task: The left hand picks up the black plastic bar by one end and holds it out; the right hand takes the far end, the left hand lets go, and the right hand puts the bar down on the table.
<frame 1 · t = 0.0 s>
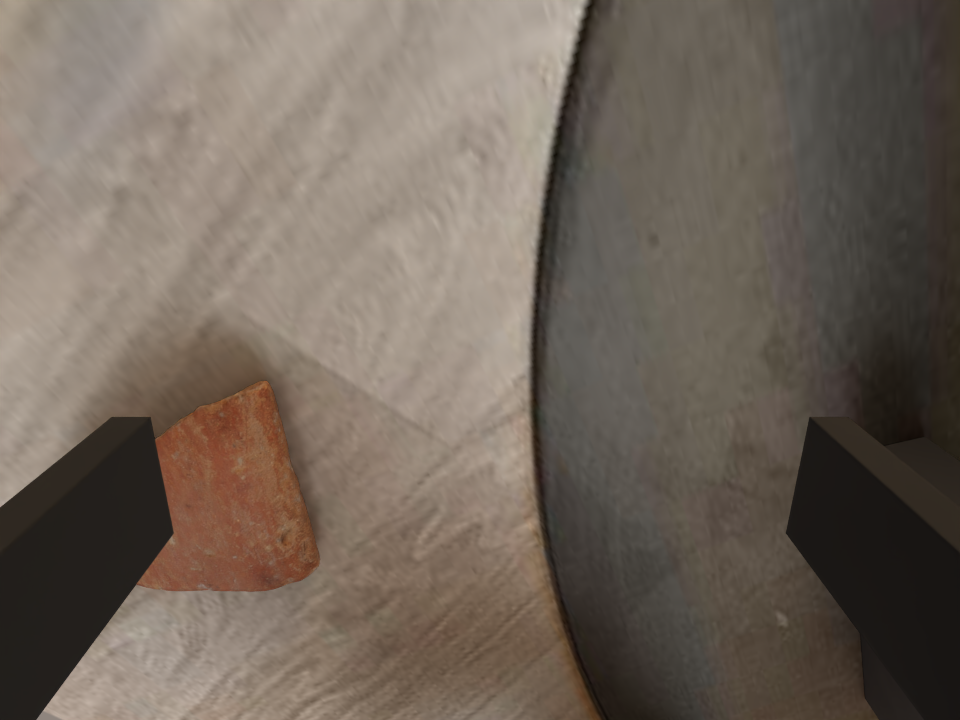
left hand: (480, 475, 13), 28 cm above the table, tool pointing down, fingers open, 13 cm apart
bar: (892, 579, 48), on the table
ceramic shard: (203, 479, 45), on the table
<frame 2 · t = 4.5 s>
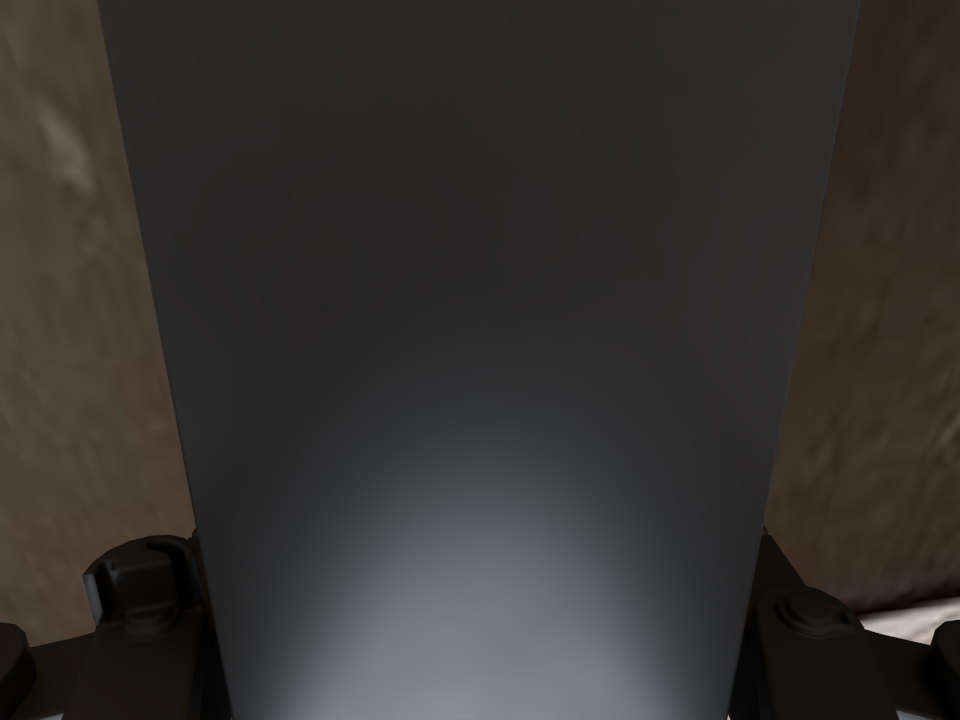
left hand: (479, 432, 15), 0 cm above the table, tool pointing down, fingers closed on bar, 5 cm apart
bar: (479, 52, 12), on the table, touching left hand
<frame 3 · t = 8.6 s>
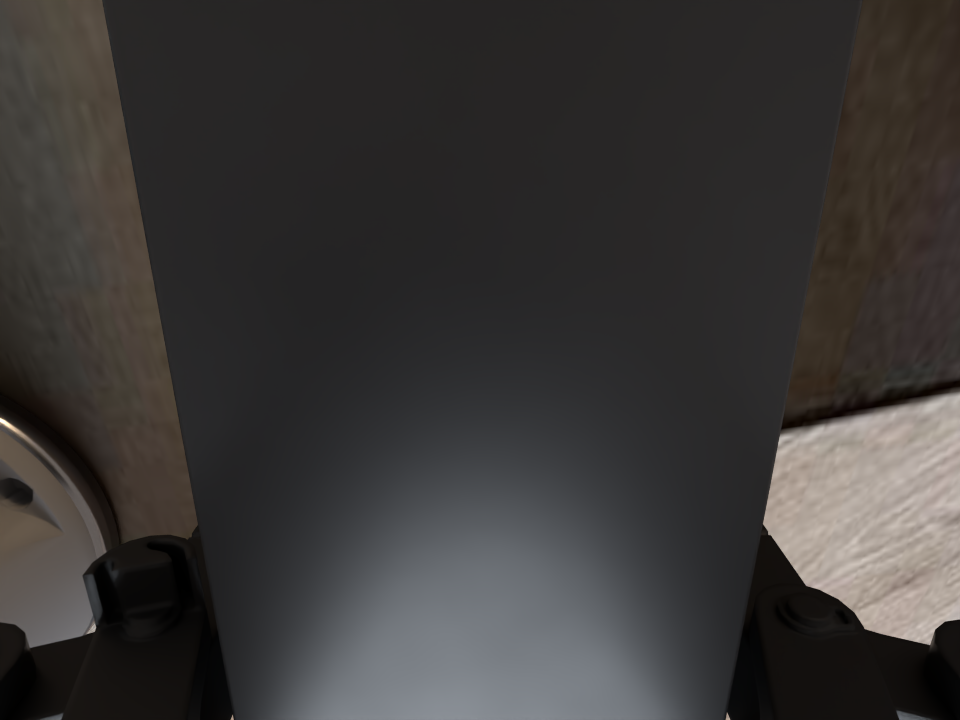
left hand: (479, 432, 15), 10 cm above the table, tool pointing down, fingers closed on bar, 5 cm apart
bar: (481, 53, 12), point 10 cm above the table, touching left hand, right hand
when the left hand's fingers open (10 cm above the table, at t = 9.4 s): bar stays where it is, held by the right hand.
when the right hand's fingers open (5 cm above the table, at t = 15.5 s): bar drops 1 cm, on the table.
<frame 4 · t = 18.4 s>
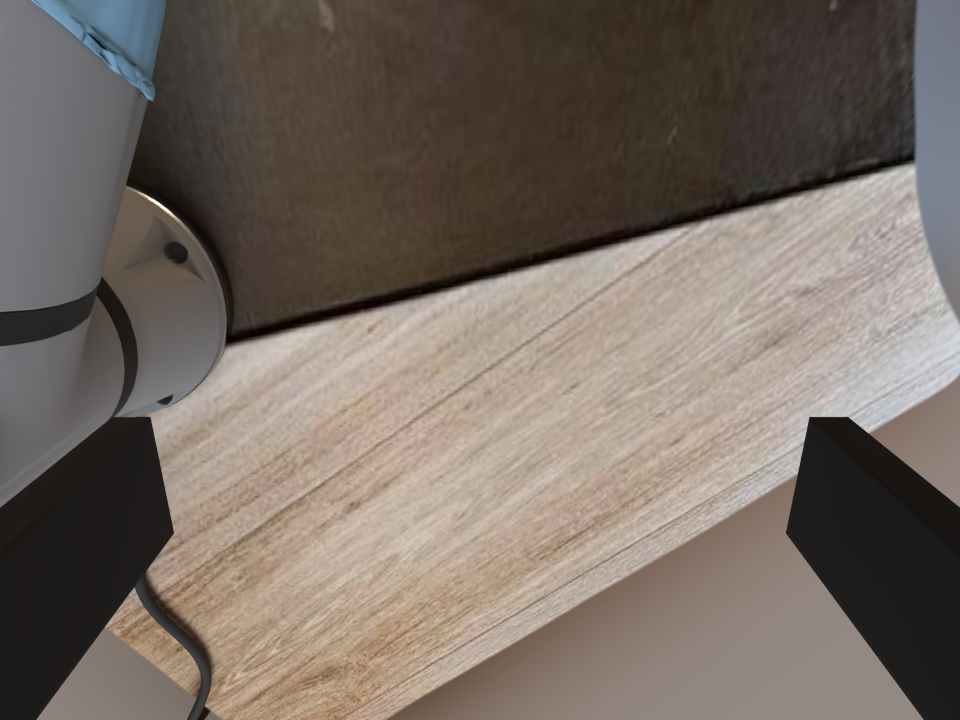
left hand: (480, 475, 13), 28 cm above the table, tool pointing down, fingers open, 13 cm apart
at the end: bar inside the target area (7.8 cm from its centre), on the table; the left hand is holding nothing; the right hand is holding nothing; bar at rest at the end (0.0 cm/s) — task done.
